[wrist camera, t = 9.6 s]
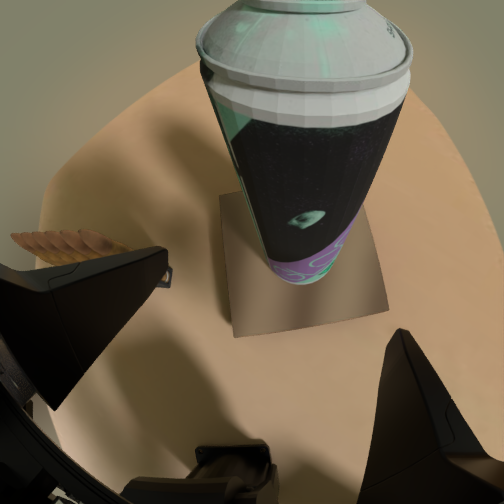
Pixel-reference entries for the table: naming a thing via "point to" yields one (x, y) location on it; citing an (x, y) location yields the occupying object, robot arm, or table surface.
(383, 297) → the flat square brown plate
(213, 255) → the table surface
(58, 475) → the robot arm
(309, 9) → the spray can
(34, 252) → the ammunition clip
